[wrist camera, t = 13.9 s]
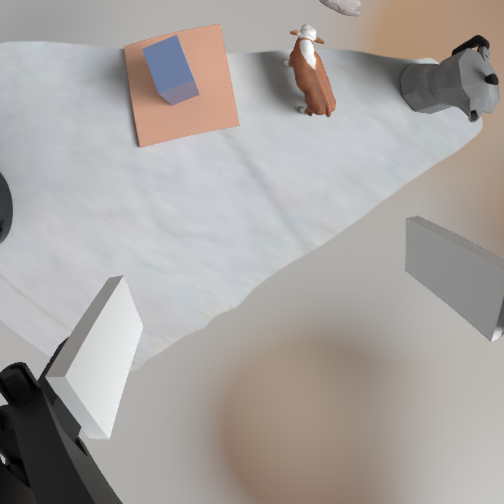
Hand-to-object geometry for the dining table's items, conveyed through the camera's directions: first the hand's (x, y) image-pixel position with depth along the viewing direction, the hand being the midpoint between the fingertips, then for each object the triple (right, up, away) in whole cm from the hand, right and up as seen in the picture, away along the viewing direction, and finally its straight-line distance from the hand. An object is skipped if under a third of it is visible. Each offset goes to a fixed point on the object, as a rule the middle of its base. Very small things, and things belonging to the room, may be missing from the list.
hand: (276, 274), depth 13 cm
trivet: (-11, +24, +24) cm, 36 cm away
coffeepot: (+28, +29, +27) cm, 48 cm away
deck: (-11, +24, +23) cm, 35 cm away
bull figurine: (+6, +26, +26) cm, 37 cm away
